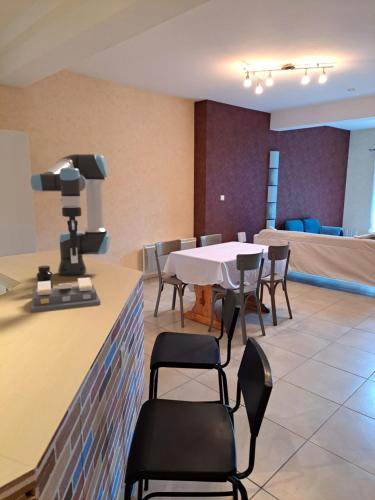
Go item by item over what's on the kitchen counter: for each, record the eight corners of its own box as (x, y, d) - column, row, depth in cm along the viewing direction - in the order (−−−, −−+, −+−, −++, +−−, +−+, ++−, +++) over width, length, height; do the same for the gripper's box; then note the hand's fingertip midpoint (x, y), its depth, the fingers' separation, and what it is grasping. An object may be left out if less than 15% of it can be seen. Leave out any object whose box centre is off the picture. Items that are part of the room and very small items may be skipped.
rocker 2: (58, 287, 149) (58, 283, 149) (70, 286, 151) (70, 282, 151) (58, 289, 141) (58, 284, 141) (71, 287, 143) (71, 283, 143)
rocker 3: (77, 281, 152) (77, 278, 151) (89, 280, 154) (89, 277, 153) (79, 291, 144) (79, 287, 144) (92, 290, 146) (92, 286, 146)
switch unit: (32, 300, 148) (31, 287, 147) (95, 293, 158) (95, 282, 157) (31, 312, 134) (30, 298, 133) (100, 304, 143) (100, 291, 142)
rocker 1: (37, 285, 146) (37, 281, 146) (50, 284, 148) (50, 280, 147) (37, 295, 138) (37, 291, 138) (51, 294, 140) (51, 290, 140)
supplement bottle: (36, 294, 156) (34, 268, 154) (38, 290, 163) (36, 265, 160) (52, 293, 158) (51, 267, 156) (54, 289, 164) (52, 264, 162)
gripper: (61, 205, 148) (64, 260, 152) (62, 207, 136) (65, 266, 140) (80, 205, 151) (82, 259, 155) (82, 207, 139) (84, 265, 143)
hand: (74, 262), depth 148 cm, fingers closed
